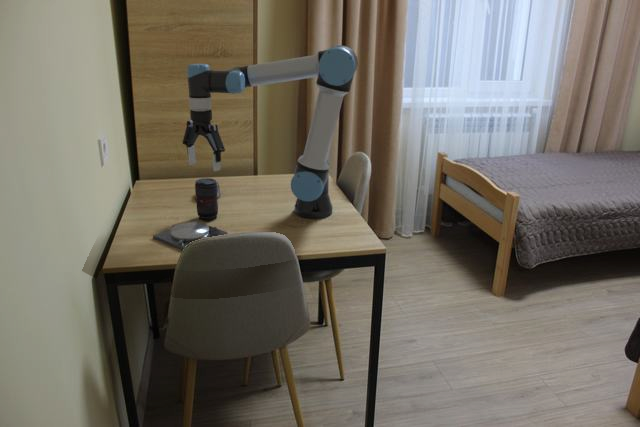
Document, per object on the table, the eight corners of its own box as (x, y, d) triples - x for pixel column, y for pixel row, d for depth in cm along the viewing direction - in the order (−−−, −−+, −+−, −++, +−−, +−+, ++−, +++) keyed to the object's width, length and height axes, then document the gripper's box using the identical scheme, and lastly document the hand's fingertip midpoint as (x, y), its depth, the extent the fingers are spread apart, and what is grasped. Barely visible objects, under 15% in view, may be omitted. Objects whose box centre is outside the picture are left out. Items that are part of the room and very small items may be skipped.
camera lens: (211, 223, 191) (209, 185, 186) (193, 220, 194) (190, 182, 189) (222, 216, 198) (220, 179, 193) (204, 213, 201) (202, 176, 196)
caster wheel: (203, 197, 226) (225, 195, 225) (194, 200, 215) (216, 198, 214) (201, 182, 225) (223, 180, 224) (191, 185, 214) (214, 182, 213)
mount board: (227, 235, 181) (227, 227, 180) (186, 252, 167) (186, 244, 166) (193, 223, 191) (192, 215, 190) (152, 238, 178) (151, 230, 177)
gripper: (233, 112, 177) (235, 171, 185) (186, 104, 191) (190, 159, 199) (216, 114, 172) (220, 175, 179) (169, 106, 186) (174, 163, 193)
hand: (204, 167), depth 189 cm, fingers open, 13 cm apart
